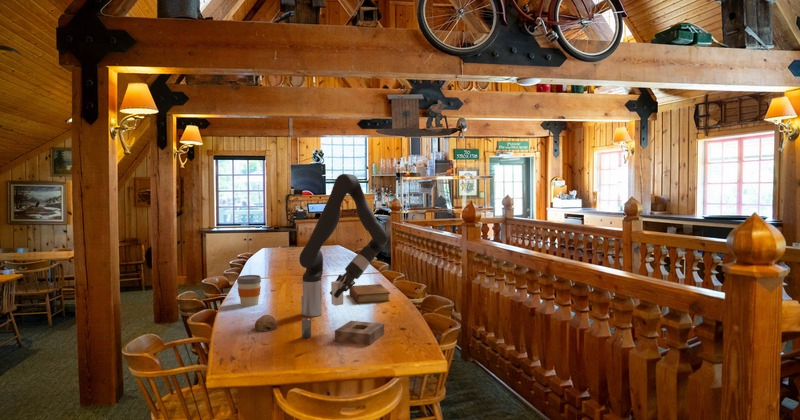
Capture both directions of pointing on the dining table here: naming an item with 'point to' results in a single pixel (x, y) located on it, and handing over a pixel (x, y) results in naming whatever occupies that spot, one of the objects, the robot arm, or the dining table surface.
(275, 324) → the bread roll
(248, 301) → the reusable coffee cup
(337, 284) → the square bit
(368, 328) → the socket block
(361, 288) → the diary
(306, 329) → the round bit
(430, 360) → the dining table surface
